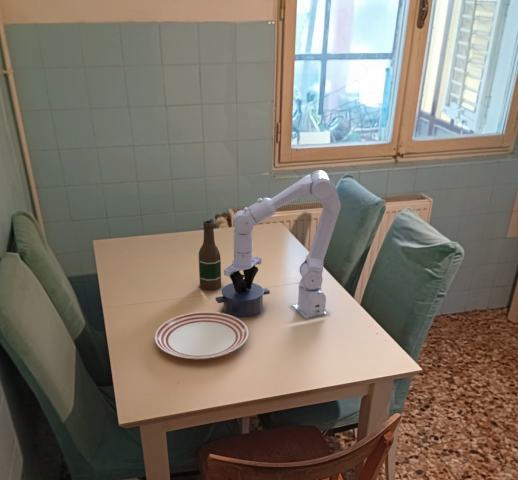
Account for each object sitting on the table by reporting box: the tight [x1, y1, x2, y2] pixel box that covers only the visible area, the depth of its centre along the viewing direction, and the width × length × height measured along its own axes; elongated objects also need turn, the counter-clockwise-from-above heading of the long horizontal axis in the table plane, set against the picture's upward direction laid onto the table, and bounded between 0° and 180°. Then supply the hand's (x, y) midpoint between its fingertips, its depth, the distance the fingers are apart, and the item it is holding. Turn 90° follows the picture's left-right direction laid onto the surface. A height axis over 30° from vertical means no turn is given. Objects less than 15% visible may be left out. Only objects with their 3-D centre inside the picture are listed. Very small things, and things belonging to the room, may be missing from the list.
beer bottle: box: [198, 220, 222, 292], centre depth 193 cm, size 8×8×24 cm
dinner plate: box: [154, 311, 250, 360], centre depth 167 cm, size 28×27×3 cm
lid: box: [221, 278, 265, 302], centre depth 181 cm, size 14×14×5 cm
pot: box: [215, 287, 271, 319], centre depth 184 cm, size 13×18×6 cm
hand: (243, 290), depth 182 cm, fingers open, 4 cm apart
